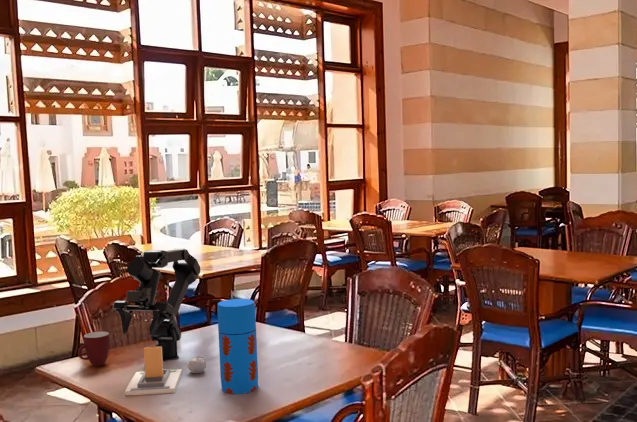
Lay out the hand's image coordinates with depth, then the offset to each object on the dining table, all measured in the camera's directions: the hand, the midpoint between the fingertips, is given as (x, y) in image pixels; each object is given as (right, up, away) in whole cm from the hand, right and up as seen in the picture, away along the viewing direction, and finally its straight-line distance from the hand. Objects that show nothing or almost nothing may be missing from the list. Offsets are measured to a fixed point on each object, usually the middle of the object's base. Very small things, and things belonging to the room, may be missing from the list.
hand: (137, 334), depth 214 cm
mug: (-17, -13, +13) cm, 25 cm away
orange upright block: (+7, -12, -8) cm, 16 cm away
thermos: (+34, -13, -15) cm, 39 cm away
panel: (+7, -13, -8) cm, 17 cm away
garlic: (+19, -12, +1) cm, 22 cm away
